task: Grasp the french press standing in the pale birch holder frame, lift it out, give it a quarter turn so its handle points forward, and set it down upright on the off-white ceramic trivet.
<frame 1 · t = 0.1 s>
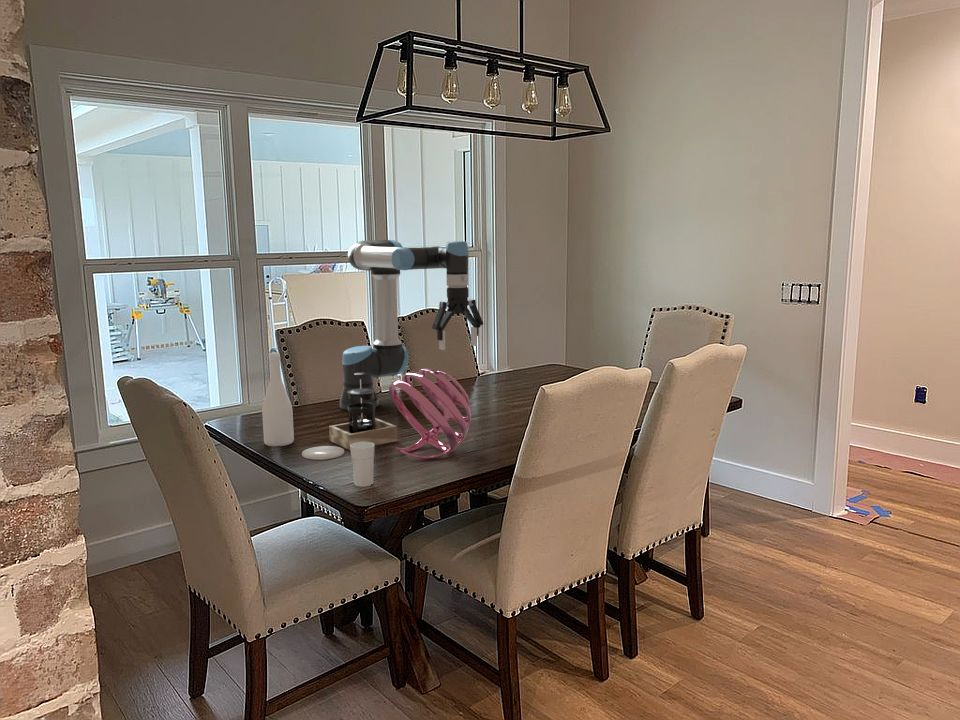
hand: (458, 347, 266), 28 cm above the table, fingers open, 13 cm apart
cup: (363, 484, 210), on the table
french press: (363, 441, 252), resting in holder
holder: (363, 440, 252), on the table
trivet: (323, 453, 238), on the table
spiral basket: (432, 453, 238), on the table
wine bottle: (279, 443, 250), on the table
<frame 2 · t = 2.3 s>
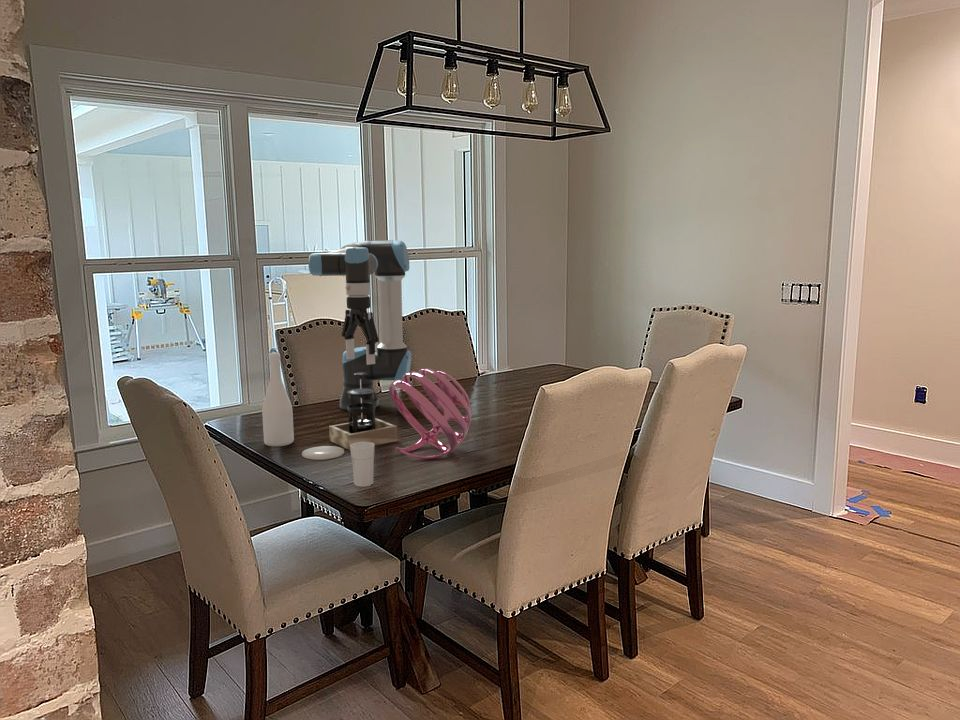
hand: (360, 361, 247), 27 cm above the table, fingers open, 13 cm apart
nothing on the table moved.
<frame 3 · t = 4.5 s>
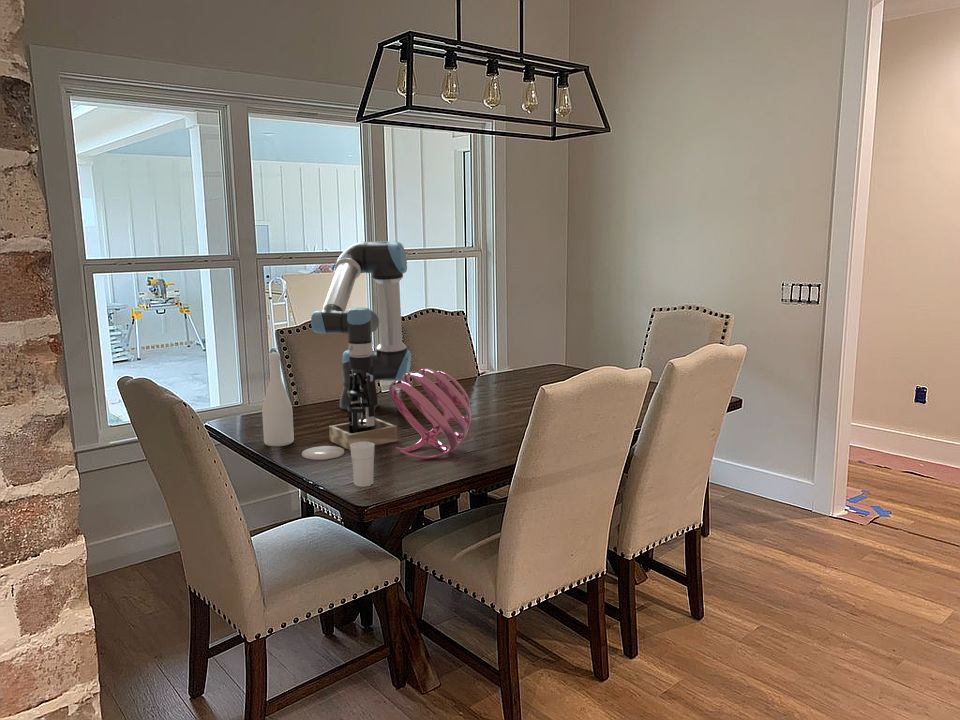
hand: (363, 423, 251), 6 cm above the table, fingers closed on french press, 9 cm apart
french press: (363, 441, 252), resting in holder, touching gripper
everything else where it was.
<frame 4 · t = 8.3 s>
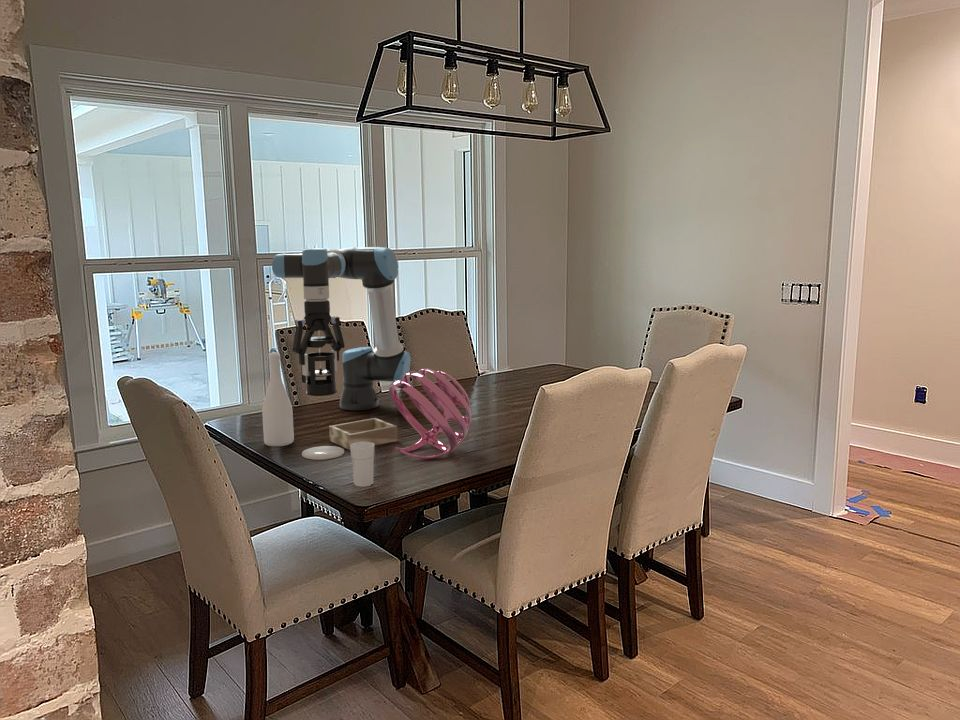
hand: (320, 373, 234), 26 cm above the table, fingers closed on french press, 9 cm apart
french press: (320, 393, 235), point 19 cm above the table, touching gripper
everything else where it was.
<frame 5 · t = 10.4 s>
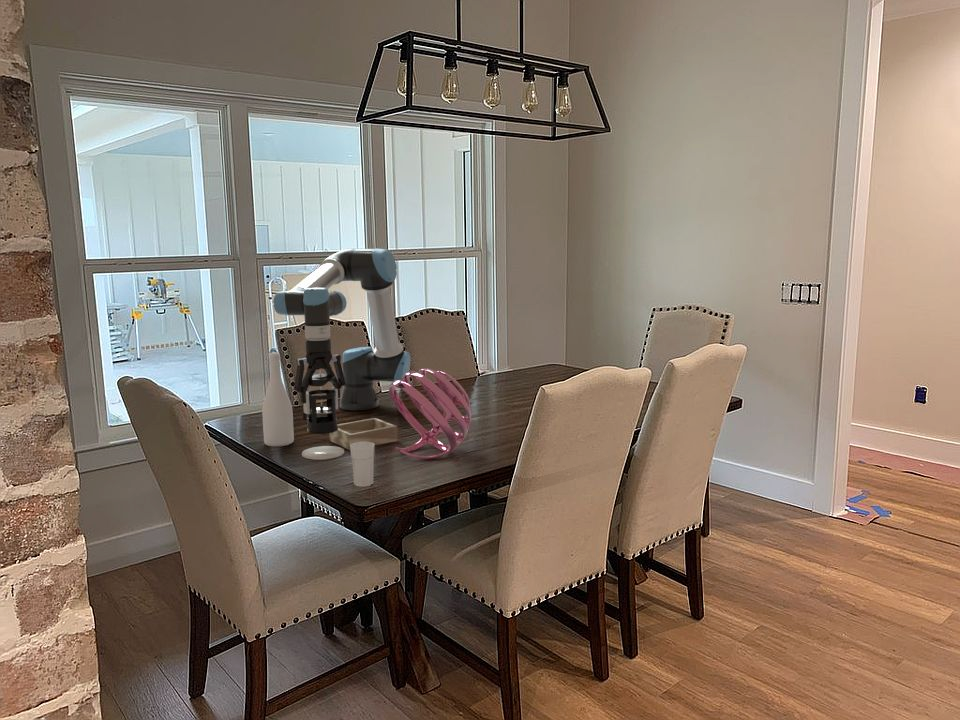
hand: (321, 410, 235), 14 cm above the table, fingers closed on french press, 9 cm apart
french press: (321, 430, 236), point 8 cm above the table, touching gripper
everything else where it was.
when the fingers open (8 cm above the table, at t = 12.1 s): french press drops 1 cm, resting on trivet.
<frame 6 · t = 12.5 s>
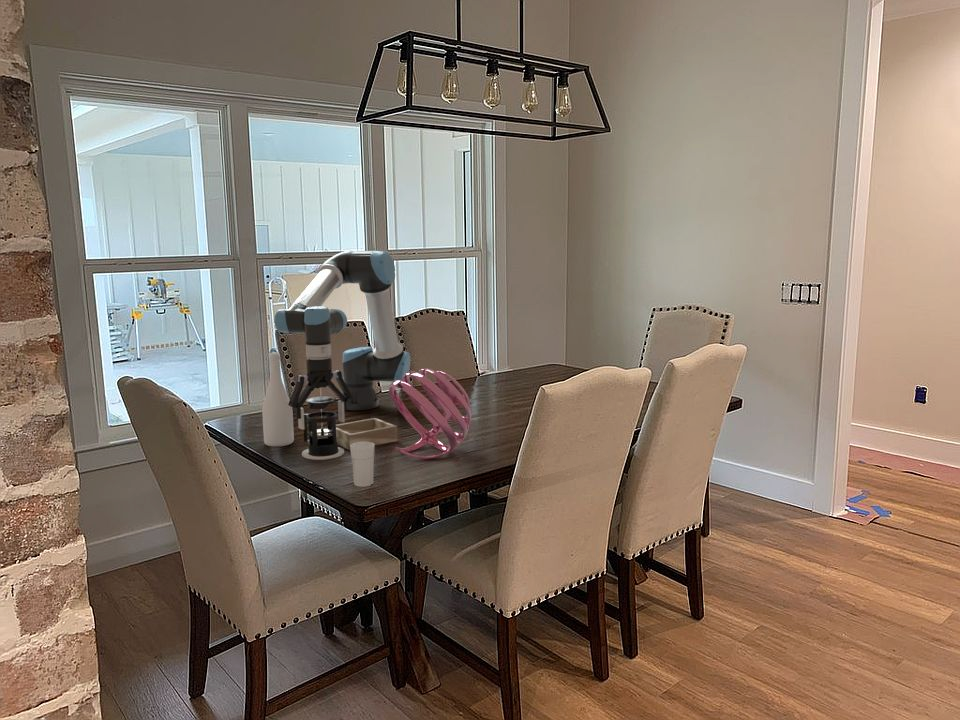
hand: (321, 425, 236), 9 cm above the table, fingers open, 13 cm apart
french press: (321, 452, 238), resting on trivet
everything else where it was.
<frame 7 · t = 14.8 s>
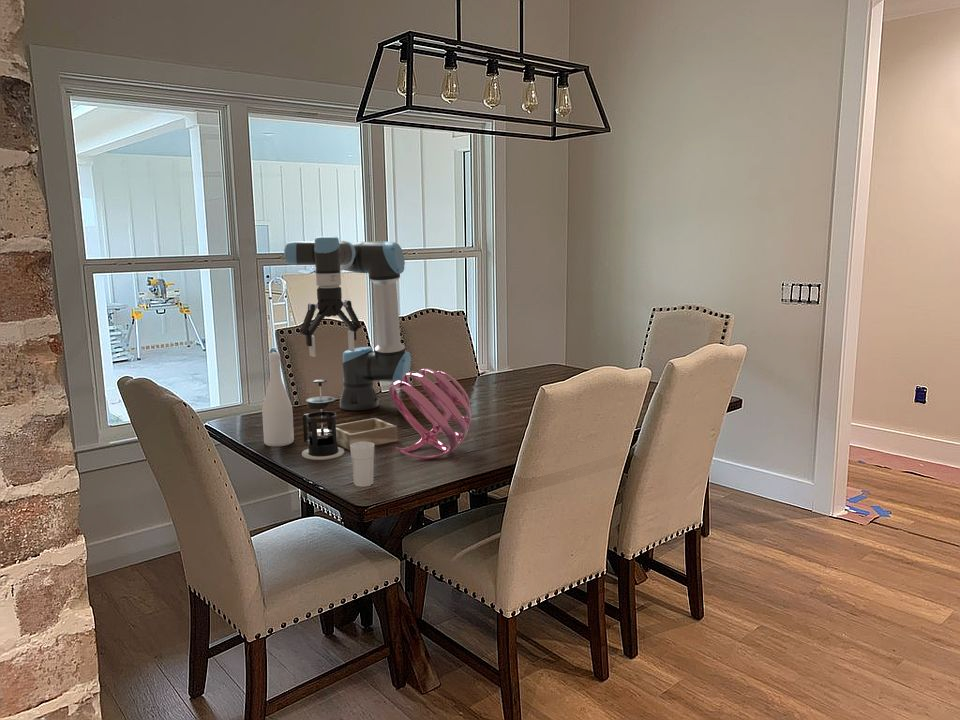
hand: (332, 353, 241), 30 cm above the table, fingers open, 13 cm apart
nothing on the table moved.
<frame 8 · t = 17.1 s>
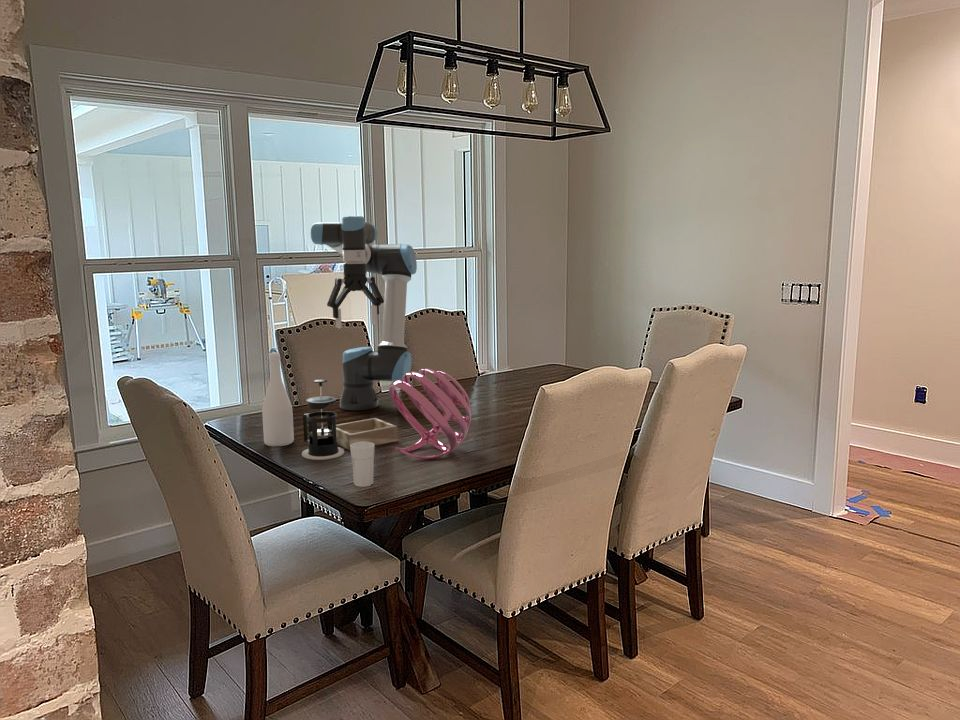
hand: (356, 326, 257), 37 cm above the table, fingers open, 13 cm apart
nothing on the table moved.
at the end: french press 0.4 cm from the trivet (horizontally); french press tilted 0°; french press touching trivet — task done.
